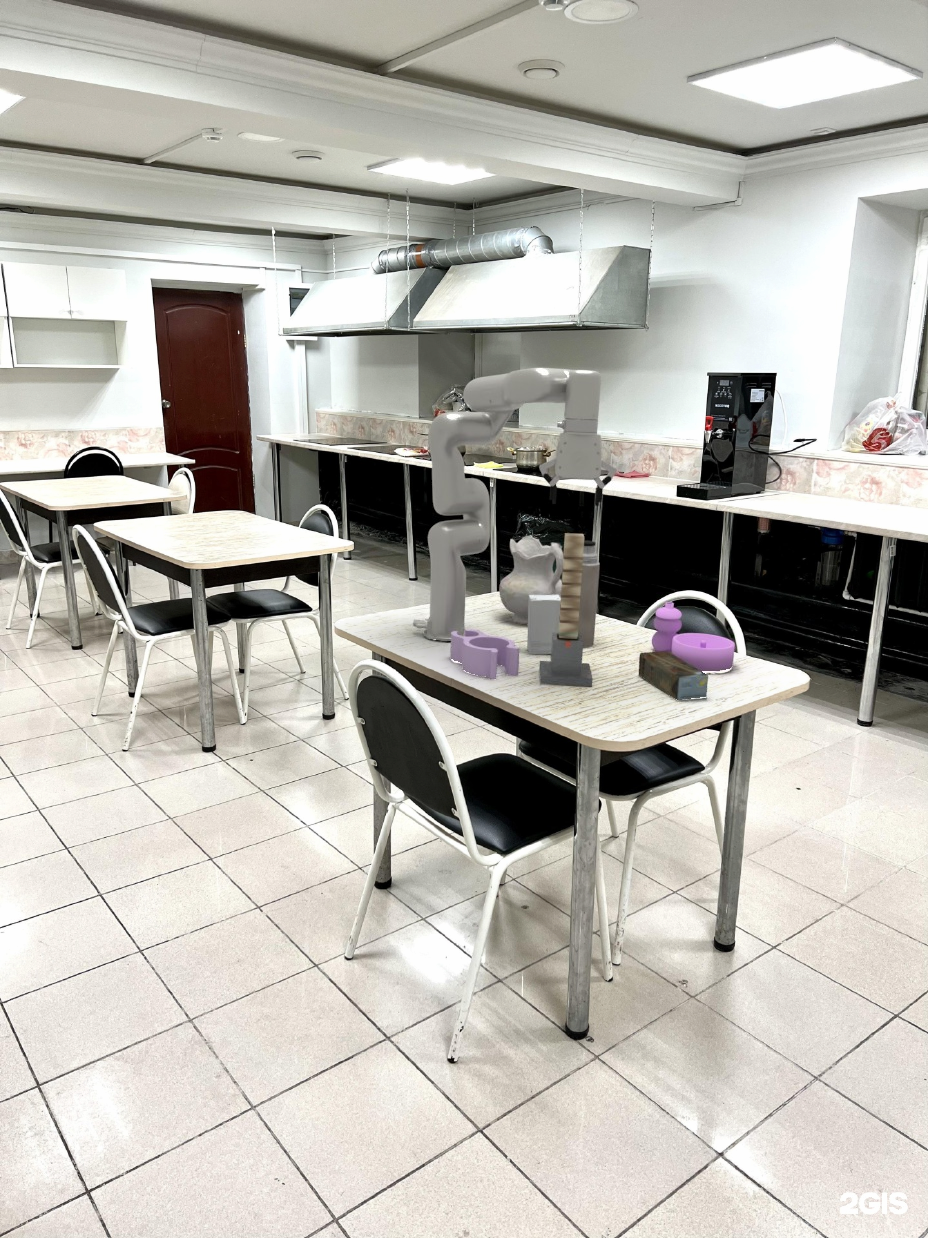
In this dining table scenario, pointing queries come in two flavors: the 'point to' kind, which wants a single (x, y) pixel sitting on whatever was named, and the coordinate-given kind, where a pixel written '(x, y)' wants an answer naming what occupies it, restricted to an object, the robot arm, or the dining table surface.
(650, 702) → the dining table surface
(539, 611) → the skincare box
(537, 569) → the ceramic pitcher
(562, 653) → the sleeve base
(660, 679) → the beverage carton
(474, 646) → the clip
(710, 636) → the container set
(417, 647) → the dining table surface
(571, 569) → the post
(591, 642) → the thermos bottle
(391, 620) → the dining table surface
